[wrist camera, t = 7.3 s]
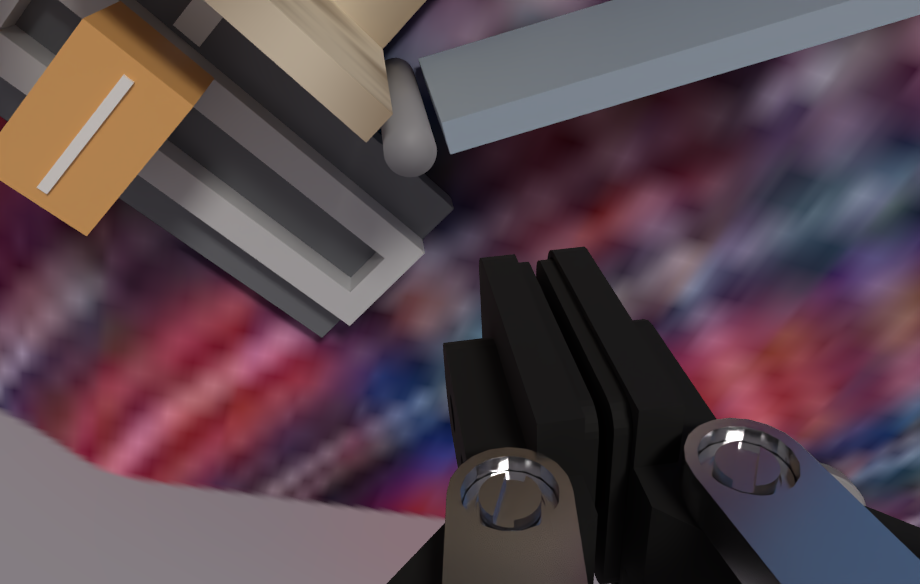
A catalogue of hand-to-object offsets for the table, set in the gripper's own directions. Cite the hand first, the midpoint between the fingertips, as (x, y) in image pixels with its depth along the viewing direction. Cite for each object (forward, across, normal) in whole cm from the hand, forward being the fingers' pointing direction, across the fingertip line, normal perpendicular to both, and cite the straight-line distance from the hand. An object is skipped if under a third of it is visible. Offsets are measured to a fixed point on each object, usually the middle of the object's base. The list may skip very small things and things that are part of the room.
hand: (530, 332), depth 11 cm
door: (+17, -6, -2) cm, 18 cm away
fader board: (+17, +8, +1) cm, 19 cm away
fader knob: (+16, +10, -1) cm, 18 cm away
